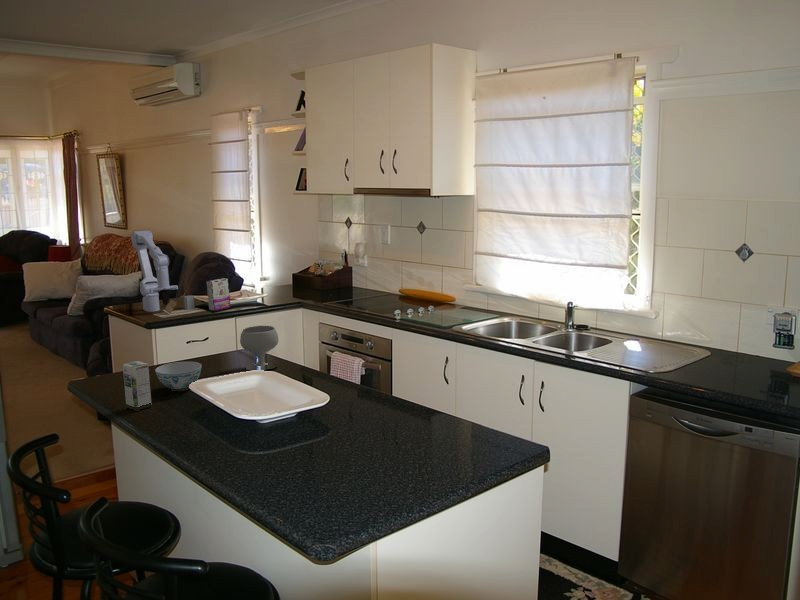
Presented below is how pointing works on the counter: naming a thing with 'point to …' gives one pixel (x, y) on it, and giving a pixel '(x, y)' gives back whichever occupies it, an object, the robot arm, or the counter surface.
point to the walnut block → (169, 306)
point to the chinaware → (178, 374)
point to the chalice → (259, 341)
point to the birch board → (178, 312)
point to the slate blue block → (189, 302)
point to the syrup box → (137, 383)
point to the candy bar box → (218, 294)
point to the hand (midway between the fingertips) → (165, 304)
